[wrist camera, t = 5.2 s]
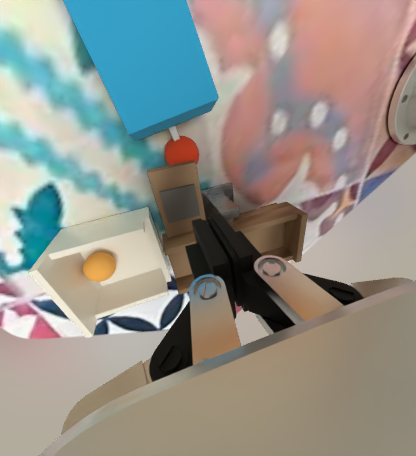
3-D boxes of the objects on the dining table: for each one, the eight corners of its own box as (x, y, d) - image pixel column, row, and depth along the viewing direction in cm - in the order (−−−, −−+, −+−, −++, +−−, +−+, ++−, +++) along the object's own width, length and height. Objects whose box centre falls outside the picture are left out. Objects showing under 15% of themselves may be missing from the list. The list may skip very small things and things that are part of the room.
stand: (230, 182, 23) (252, 197, 19) (236, 246, 28) (254, 270, 24) (191, 192, 22) (204, 210, 18) (204, 256, 28) (217, 283, 23)
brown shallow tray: (283, 138, 19) (317, 143, 15) (277, 240, 25) (300, 261, 21) (142, 168, 17) (139, 182, 13) (175, 270, 23) (180, 299, 19)
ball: (115, 247, 21) (93, 267, 18) (126, 268, 23) (107, 289, 20) (93, 245, 22) (69, 264, 19) (105, 266, 24) (85, 286, 21)
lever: (59, -24, 15) (158, 184, 21) (-25, -180, 9) (153, 185, 14) (137, -49, 16) (215, 160, 21) (114, -213, 9) (236, 149, 15)
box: (148, 206, 22) (150, 237, 16) (168, 265, 26) (176, 306, 21) (61, 228, 20) (28, 272, 14) (100, 287, 25) (86, 338, 19)
